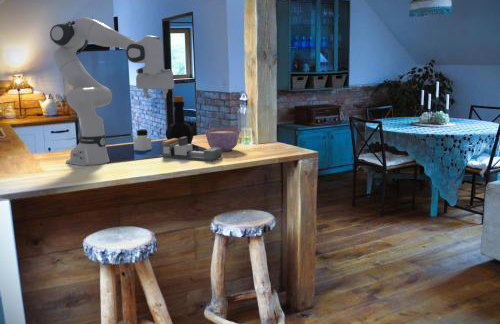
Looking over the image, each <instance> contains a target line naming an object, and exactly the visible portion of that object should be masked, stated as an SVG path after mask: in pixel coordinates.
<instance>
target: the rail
mask: <svg viewBox="0 0 500 324" xmlns="http://www.w3.org/2000/svg"><path fill="white" fill-rule="evenodd" d="M178 144H179V142H178V141H176V142H173V143H169V144H163V143H162V145H161V146H162V158H163V159H175V160H176V159H177V160H186V161H187V160H188V161H199V162H200V161H201V162H212V163H213V162H215V161H218V160H221V159H222V152H221V148H216V147H212V148H211V147H210V148H207V149H204V150H203V151H200V150H199V151H197V150H193V151H187V155H186V156H184V155H175V150H174V146H175V145H178Z"/></svg>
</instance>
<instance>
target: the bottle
mask: <svg viewBox="0 0 500 324" xmlns="http://www.w3.org/2000/svg"><path fill="white" fill-rule="evenodd" d="M172 105H173V107H174V112H173V117H174V118H173V119H174V122H173V123H171V124H170V125H169V126H168V127H167V129H166V131H165V136H166V139H167V140H170V139H173V138H175V139H178V138H181V137H188V144H193V140H194V135H195V130H194V129H193V127H192V126H191V124H189V123H187V122H186V121H185V111H184V107H185V102H184V96H182V95H179V96H173V103H172ZM178 142H179V139H178Z"/></svg>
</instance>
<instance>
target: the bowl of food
mask: <svg viewBox="0 0 500 324" xmlns="http://www.w3.org/2000/svg"><path fill="white" fill-rule="evenodd" d="M204 133H205V135H206V136H205V137H206V140H207V143H208V146H209V147H210V148H212V147H216V148H221V153H224V152H230V151H231V150H233V149H234V148H235V147H236V146H237V145H238V141H239V138H240V133H241V130H240V129H238V128H231V127H228V128H227V127H225V128H224V127H222V128H221V127H220V128H219V127H218V128H217V127H216V128H210V129H206V130H205V131H204Z"/></svg>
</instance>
